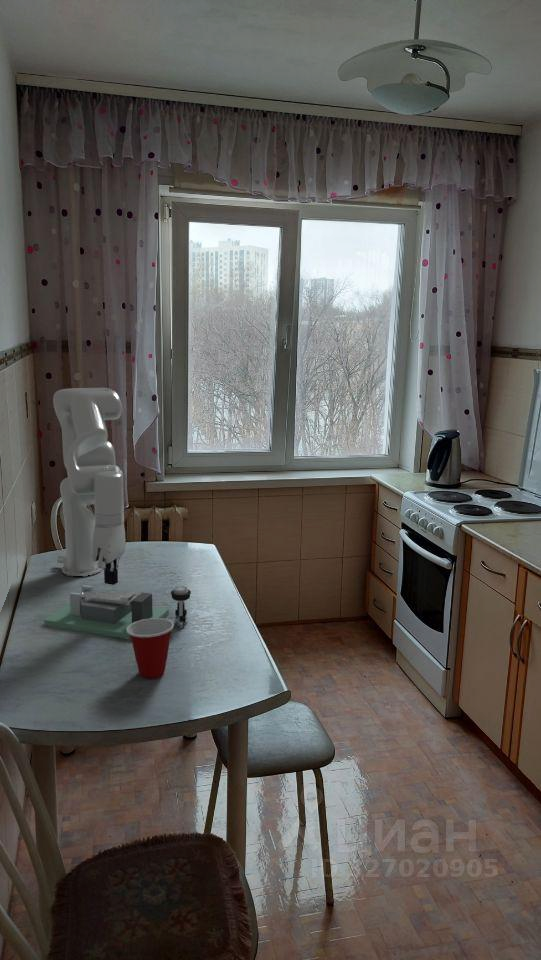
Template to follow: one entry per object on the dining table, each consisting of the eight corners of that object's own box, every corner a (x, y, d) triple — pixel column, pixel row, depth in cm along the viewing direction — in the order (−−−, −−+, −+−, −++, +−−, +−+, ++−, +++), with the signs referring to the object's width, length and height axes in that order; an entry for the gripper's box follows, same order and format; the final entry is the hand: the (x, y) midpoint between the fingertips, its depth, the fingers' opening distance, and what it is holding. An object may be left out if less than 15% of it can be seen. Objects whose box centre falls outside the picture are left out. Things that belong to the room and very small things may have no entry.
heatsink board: (44, 624, 188) (42, 596, 186) (81, 600, 205) (80, 574, 203) (137, 640, 180) (137, 611, 178) (169, 614, 197) (168, 587, 195)
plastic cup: (153, 657, 171) (152, 611, 168) (184, 671, 164) (183, 624, 162) (117, 674, 163) (116, 625, 160) (148, 689, 156) (147, 639, 153)
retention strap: (75, 599, 192) (74, 592, 191) (84, 594, 196) (83, 586, 195) (129, 606, 187) (129, 598, 186) (137, 600, 191) (137, 592, 190)
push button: (190, 629, 187) (190, 593, 185) (170, 629, 187) (170, 594, 184) (190, 619, 194) (190, 584, 191) (171, 619, 193) (171, 585, 191)
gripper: (111, 509, 194) (113, 571, 198) (81, 524, 180) (83, 591, 184) (135, 512, 192) (137, 575, 196) (107, 527, 178) (109, 595, 182)
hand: (111, 583), depth 190 cm, fingers closed
